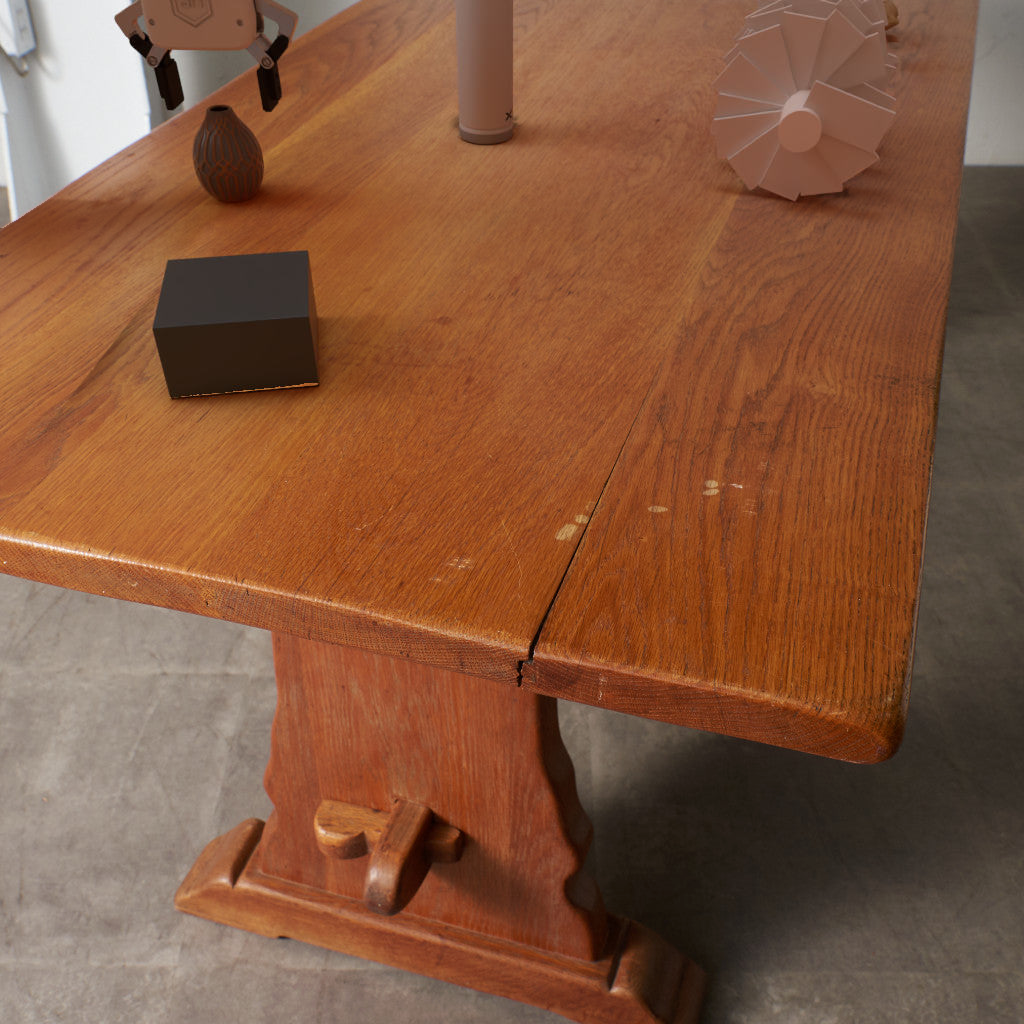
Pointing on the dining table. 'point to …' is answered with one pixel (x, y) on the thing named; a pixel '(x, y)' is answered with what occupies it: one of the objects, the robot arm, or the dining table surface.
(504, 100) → the travel mug
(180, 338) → the riser block
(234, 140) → the vase
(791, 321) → the dining table surface
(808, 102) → the spiral staircase
